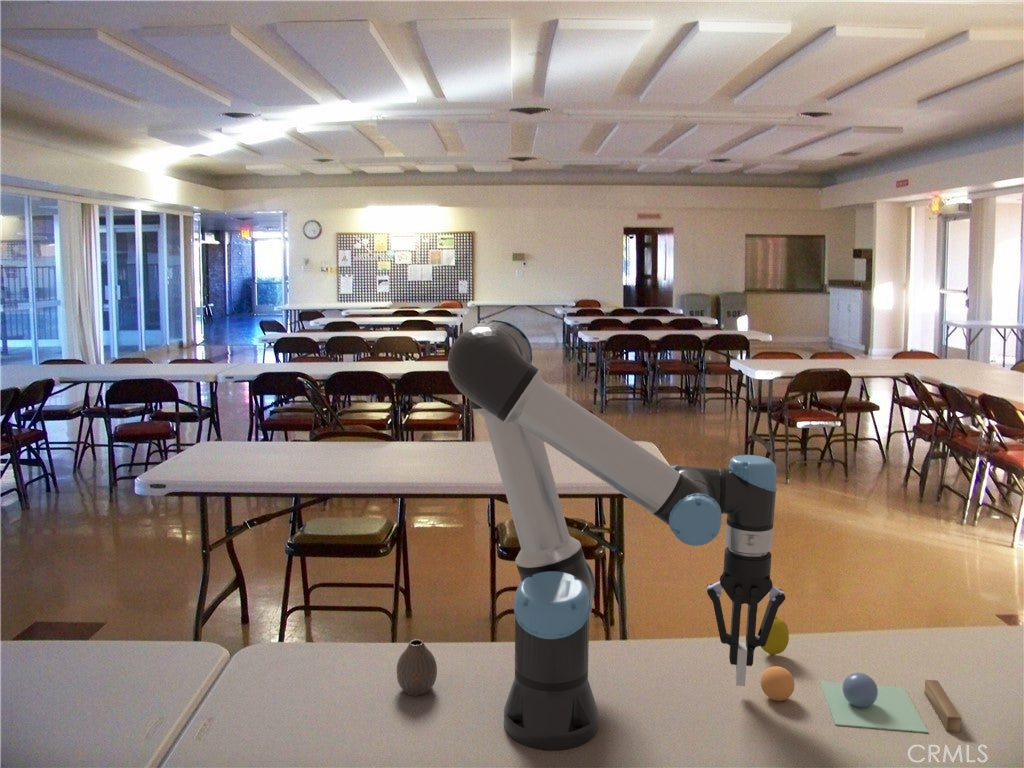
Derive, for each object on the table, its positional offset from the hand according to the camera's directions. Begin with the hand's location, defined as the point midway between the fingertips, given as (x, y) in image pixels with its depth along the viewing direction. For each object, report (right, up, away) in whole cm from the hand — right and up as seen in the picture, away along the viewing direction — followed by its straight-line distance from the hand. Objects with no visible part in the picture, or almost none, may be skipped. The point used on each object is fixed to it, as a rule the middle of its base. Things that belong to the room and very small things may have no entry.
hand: (739, 681), depth 151 cm
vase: (-55, -2, +2) cm, 55 cm away
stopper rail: (+32, -3, -5) cm, 32 cm away
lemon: (+10, 0, +15) cm, 18 cm away
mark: (+21, -3, -3) cm, 22 cm away
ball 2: (+19, 0, -3) cm, 20 cm away
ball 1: (+6, 0, -1) cm, 6 cm away
